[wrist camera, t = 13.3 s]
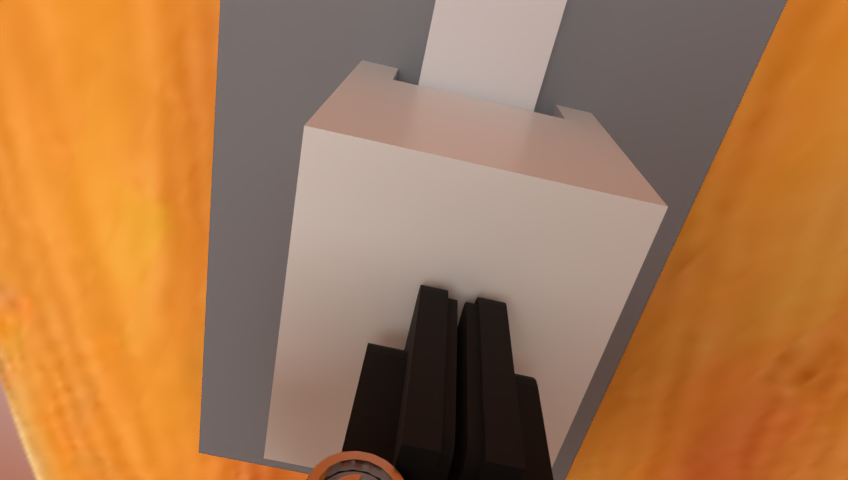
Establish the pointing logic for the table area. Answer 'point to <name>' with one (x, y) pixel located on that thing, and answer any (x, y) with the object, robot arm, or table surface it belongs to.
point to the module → (450, 244)
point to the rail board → (464, 75)
